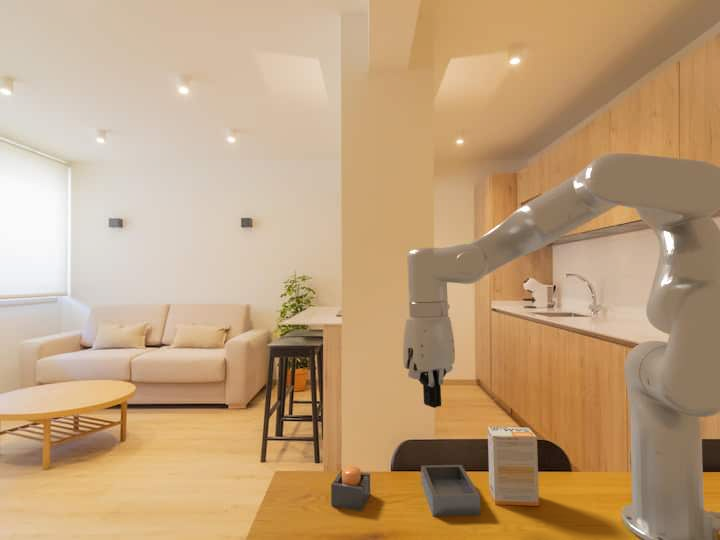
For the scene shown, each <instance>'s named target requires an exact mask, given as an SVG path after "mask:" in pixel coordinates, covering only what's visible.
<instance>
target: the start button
mask: <svg viewBox="0 0 720 540" xmlns="http://www.w3.org/2000/svg"><path fill="white" fill-rule="evenodd" d="M341 470H342V484H347V485H353V486H359V485H360V483H361V475H360V472H361V469H360V468H359V467H357V466H352V465H351V466H346V467H344V468H342V469H341Z"/></svg>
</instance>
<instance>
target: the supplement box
mask: <svg viewBox="0 0 720 540" xmlns="http://www.w3.org/2000/svg"><path fill="white" fill-rule="evenodd" d="M487 447H488V448H487V449H488V451H487V452H488V484H489V485H488V487H489V488H488V489H489V490H488V491H489V494H490V495H491V498H492V500H493V503H494V504H495V506H496V505H498V506H499V505H503V506H504V505H505V506H526V507H527V506H529V507H539V505H540V498H539V497H540V496H539V495H540V494H539V493H540V491H539V467H538V466H539V465H538V464H539V463H538V462H539V459H538V436H537V435H536V434H535V433H534V432H533V431H532V430H531V429H530V427H509V426H507V427H505V426H487Z"/></svg>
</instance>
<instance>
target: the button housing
mask: <svg viewBox="0 0 720 540" xmlns="http://www.w3.org/2000/svg"><path fill="white" fill-rule="evenodd" d="M342 470H343V469H341V470H340V471H339V473H338V474H337V476H336V477H335V478H334V480H333V482H332V483H331V484H330V485H331V486H330V489H331V490H330V491H331V497H330V499H331V500H330V502H331V507H335V508H341V509H347V510H352V511H356V512H357V511H358V512H363V509H364V507H365V505H366V503H367V501H368V499H369V497H371V496H370V495H371V473H370V472H369V473H368V472H362V471H360V475H361V483H360V485H359V486H353V485H347V484H342Z"/></svg>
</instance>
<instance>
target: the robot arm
mask: <svg viewBox="0 0 720 540" xmlns="http://www.w3.org/2000/svg"><path fill="white" fill-rule="evenodd" d="M619 206H620V207H626V208H631V209H635V211H636V214H637V215H638V216H639V218H640V219H641V221H643V223H645V224H646V225H647V226H648V227H649V228H650V230H652V231H653V232H654V234H655V236H656V237H657V240H658V244H659V256H658V262H657V266H656V270H655V274H654V278H653V282H652V284H651V289H650V293H649V296H648V299H647V303H646V309H645V310H646V311H645V312H646V317H647V319H648V322H649V323H650V324H651V325H652V326H653V327H654V328H655V329H657V330H658V331H660V332H662V333H664V334H668V340H667V342H666V341H661V340H649V341H644V342H641V343H639V344H637V345H635V346H634V347H632V349H630V351H629V352H628V354H627V355H626V357H625V361H624V368H623V373H624V374H623V375H624V380H625V385H626V386H625V387H626V391H627V398H628V405H629V421H630V422H629V423H630V424H629V426H630V460H631V461H630V463H631V465H630V466H631V502H632V503H628V504H626V505H625V506H623V508H622V509H621V520H622V521H623V524H624V525H625V527H627V528H628V529H629V530H630V531H631V532H632V533H633V534H635V535H636V536H637V537H639V538H640V539H642V540H718V537H717V536H716V534H719V533H720V512H718V511H711V510H710V511H709V510H705V508H704V506H705V504H704V477H703V476H704V473H703V472H704V471H703V436H702V435H703V433H702V431H703V430H702V424H701V419H700V418H709V417H713V416H716V415H718V414H720V228H719V226H718V224H717V223H716V222H715V220H714V219H713V218H712V215H714V214H715V213H717V212H719V211H720V167H719V166H717V165H715V164H713V163H711V162H706V161H703V160H696V159H694V160H693V159H686V158H678V157H677V158H676V157H667V156H666V157H665V156H659V155H650V154H639V153H629V152H618V153H617V152H616V153H614V152H613V153H607V154H603V155H601V156H599V157H597V158H595V159H594V160H593V161H591V162H590V163H589V164H588V165H587V166H586V167H584V168H583V169H582V170H580V171H578V172H577V173H576V174H575V175H573V176H571V177H569V178H568V179H566V180H564V181H563V182H561V183H559V184H558V185H556V186H554V187H553V188H551V189H549V190H547V191H546V192H544V193H541V194H540V195H539V196H537V197H535V198H533V199H532V200H530V201H528V202H527V203H525V204H524V205H523V204H522V206H520V207H519V208H517V210H515V211H514V212H512V213H511V214H510V215H509V216H508V217H507V218H506V219H504V220H503V221H502V222H501V223H500V224H498V225H497V226H495V227H494V228H493V229H491V230H490V231H488V232H485V233H484V234H483V235H481V236H480V237H478V238H477V239H475V240H472V241H471V242H470V243H464V244H463V243H462V244H457V245H451V246H446V247H420V248H413V249H411V250H410V251H409V252H408V254H407V258H406V259H407V262H406V263H407V283H408V284H407V285H408V287H407V288H408V308H409V309H408V310H409V313H408V314H409V318H406V320H405V325H404V331H403V333H404V334H403V345H402V346H403V347H402V348H403V351H402V353H403V354H402V357H403V358H402V361H403V362H402V363H403V367H404V368H405V369H407V370H408V375H407V377H409V379H413V380H418V381H419V384H420V385H422V388H423V389H422V390H423V393H422V394H423V403H424V405H425V406H428V407H431V408H434V409H435V408H438V407H441V406H442V392H441V390H442V389H441V387H442V385H443V383H444V378H445V377H446V375H447V374H448V373H450V372H451V371H452V370H454V369H453V365H454V364H455V360H456V356H455V355H456V354H455V353H456V350H455V338H454V332H453V326H452V321H451V318H450V316H449V310H450V304H448V303H449V301H448V300H449V299H448V283H455V284H462V285H471V284H472V285H473V284H475V283H477V282H479V281H480V280H482V279H483V278H484V277H485V276H487V275H488V274H490V273H492V272H494V271H496V270H498V269H499V268H501V267H503V266H505V265H507V264H509V263H510V262H512V261H514V260H516V259H518V258H520V257H522V256H525V255H527V254H530V253H533V252H536V251H538V250H540V249H542V248H544V247H546V246H548V245H550V244H552V243H553V242H555V241H557V240H559V239H560V238H562V237H564V236H566V235H568V234H569V233H571V232H573V231H575V230H577V229H578V228H579V227H581V226H583V225H585V224H587V223H589V222H591V221H593V220H594V219H596V218H598V217H599V216H602V215H603V214H605V213H607V212H609V211H611V210H612V209H614V208H616V207H619Z"/></svg>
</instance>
